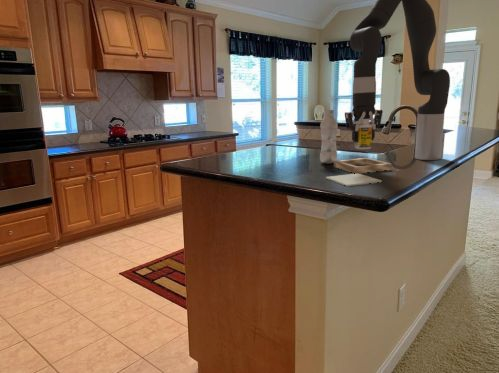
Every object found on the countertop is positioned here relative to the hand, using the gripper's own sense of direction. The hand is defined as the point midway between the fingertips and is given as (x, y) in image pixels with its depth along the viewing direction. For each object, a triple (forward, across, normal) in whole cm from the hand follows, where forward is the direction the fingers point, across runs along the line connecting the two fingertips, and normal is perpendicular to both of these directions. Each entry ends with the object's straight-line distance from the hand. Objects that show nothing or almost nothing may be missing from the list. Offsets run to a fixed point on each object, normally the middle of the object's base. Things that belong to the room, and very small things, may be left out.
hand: (363, 141), depth 134 cm
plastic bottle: (+10, +6, -14) cm, 18 cm away
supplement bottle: (+3, 0, 0) cm, 3 cm away
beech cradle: (+10, 0, 0) cm, 10 cm away
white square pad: (+9, +14, +14) cm, 22 cm away
